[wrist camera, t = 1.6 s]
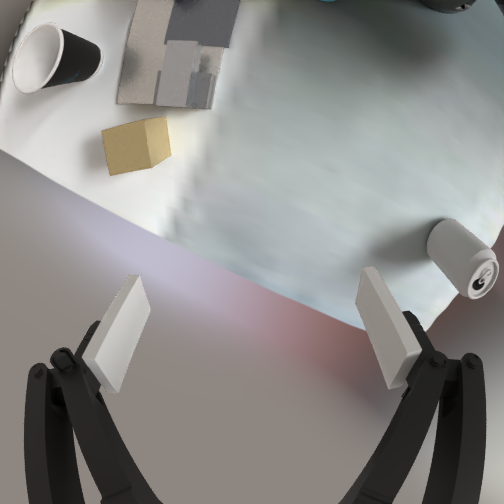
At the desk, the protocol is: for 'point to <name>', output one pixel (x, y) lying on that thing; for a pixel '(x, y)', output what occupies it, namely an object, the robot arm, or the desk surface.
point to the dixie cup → (53, 59)
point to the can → (463, 258)
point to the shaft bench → (152, 53)
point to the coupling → (136, 145)
